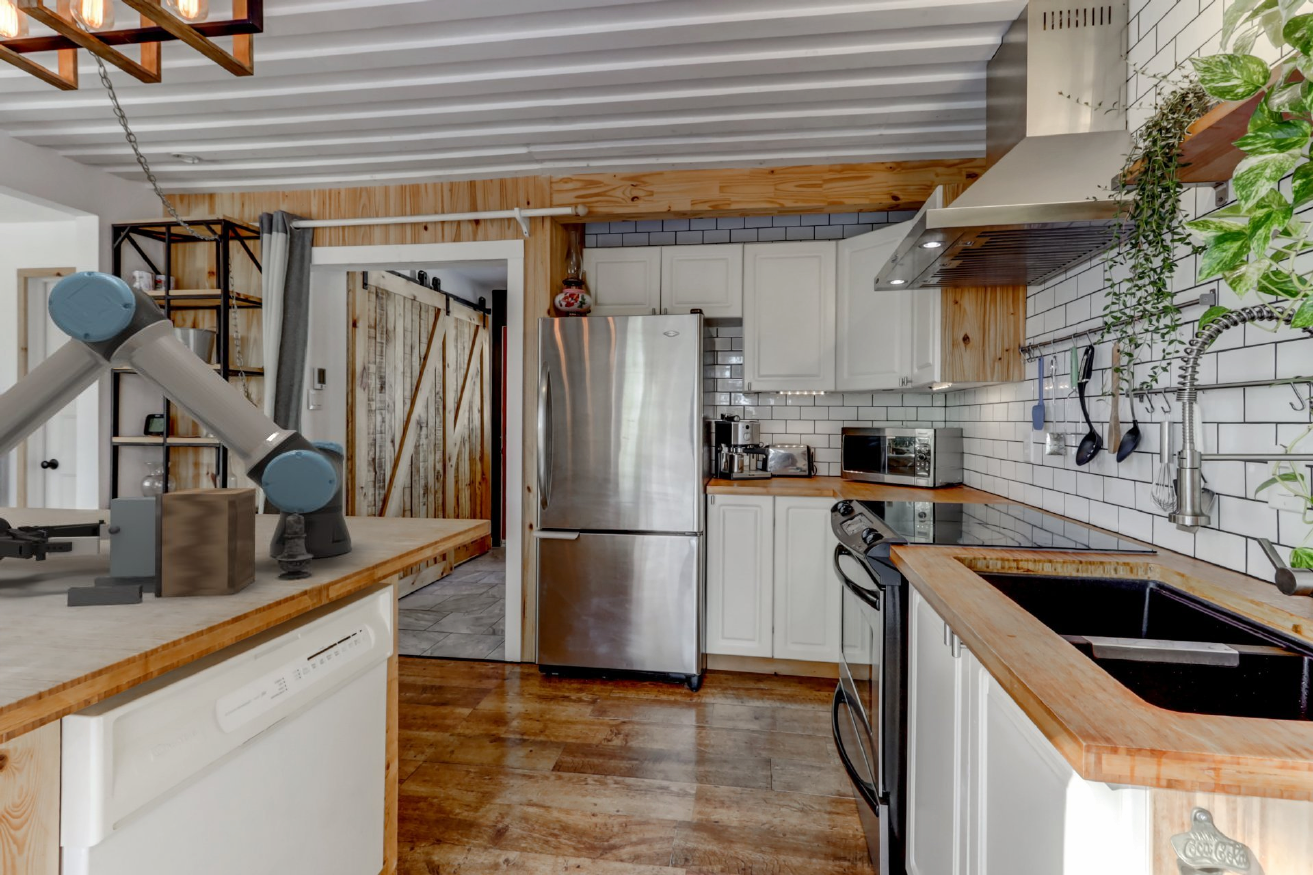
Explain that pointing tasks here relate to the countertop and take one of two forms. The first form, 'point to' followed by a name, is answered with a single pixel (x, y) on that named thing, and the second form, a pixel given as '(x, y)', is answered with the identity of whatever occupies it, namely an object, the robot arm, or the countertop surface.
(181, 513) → the cabinet
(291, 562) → the salt shaker
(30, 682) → the countertop surface
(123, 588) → the hinge bracket
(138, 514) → the door
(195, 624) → the countertop surface
